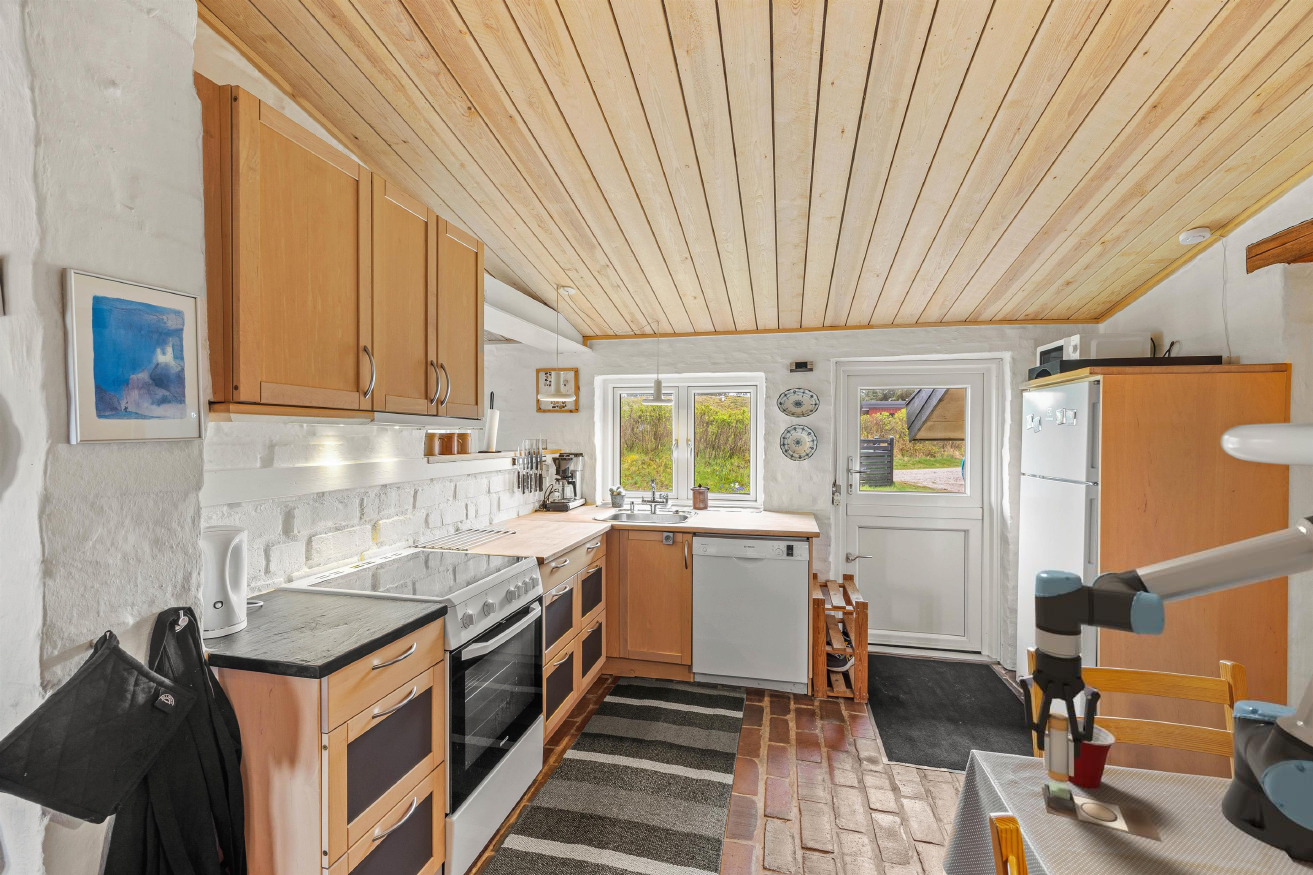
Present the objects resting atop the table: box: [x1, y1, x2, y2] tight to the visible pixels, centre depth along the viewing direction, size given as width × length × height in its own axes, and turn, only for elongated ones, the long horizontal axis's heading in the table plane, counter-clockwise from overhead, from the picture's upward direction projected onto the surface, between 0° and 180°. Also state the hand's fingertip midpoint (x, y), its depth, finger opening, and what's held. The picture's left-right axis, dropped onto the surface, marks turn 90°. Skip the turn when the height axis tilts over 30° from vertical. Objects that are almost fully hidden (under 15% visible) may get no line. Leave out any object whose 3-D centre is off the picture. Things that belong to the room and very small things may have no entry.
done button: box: [1048, 781, 1070, 800], centre depth 112 cm, size 3×3×2 cm
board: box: [1041, 783, 1163, 843], centre depth 109 cm, size 17×9×3 cm, turn 62°
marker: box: [1047, 712, 1069, 783], centre depth 112 cm, size 3×3×12 cm
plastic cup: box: [1066, 716, 1116, 790], centre depth 119 cm, size 11×11×12 cm
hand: (1058, 769), depth 112 cm, fingers closed on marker, 3 cm apart
